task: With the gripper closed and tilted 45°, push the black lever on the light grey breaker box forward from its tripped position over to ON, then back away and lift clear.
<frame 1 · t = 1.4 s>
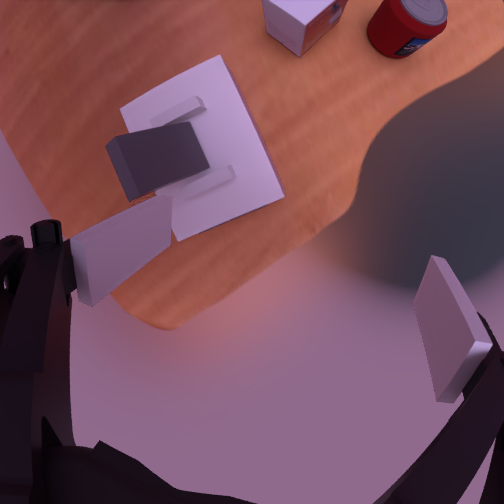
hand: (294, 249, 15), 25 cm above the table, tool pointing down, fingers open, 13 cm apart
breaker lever: (164, 155, 26), point 13 cm above the table, hinge at -25.0°
breaker box: (213, 148, 38), on the table
small box: (303, 26, 32), on the table
beverage can: (389, 37, 31), on the table
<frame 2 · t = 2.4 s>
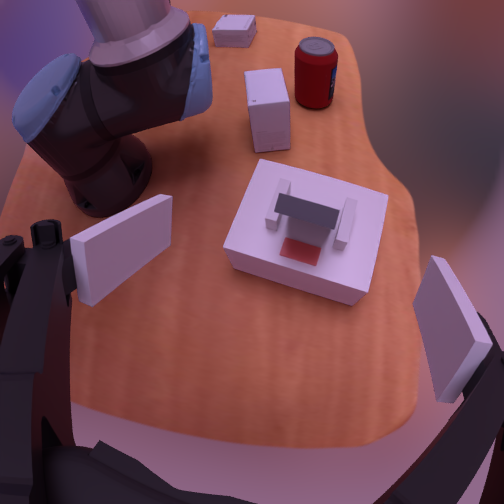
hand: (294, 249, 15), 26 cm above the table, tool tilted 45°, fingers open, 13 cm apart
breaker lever: (309, 213, 29), point 13 cm above the table, hinge at -25.0°
breaker box: (306, 245, 42), on the table
small box 2: (236, 39, 60), on the table
small box: (269, 133, 49), on the table
beverage can: (313, 99, 51), on the table
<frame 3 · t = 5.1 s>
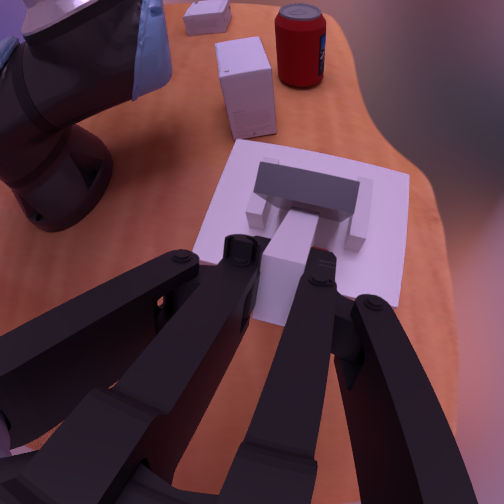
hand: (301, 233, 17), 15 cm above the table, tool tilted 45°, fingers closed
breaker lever: (309, 198, 20), point 13 cm above the table, hinge at -25.0°, touching gripper
breaker box: (305, 249, 32), on the table
small box 2: (210, 27, 52), on the table
small box: (250, 118, 40), on the table
beverage can: (300, 78, 42), on the table
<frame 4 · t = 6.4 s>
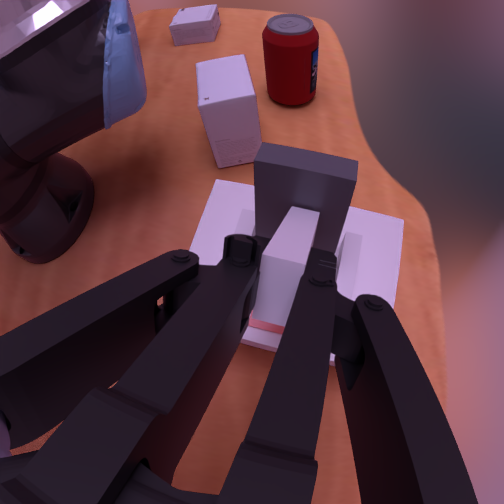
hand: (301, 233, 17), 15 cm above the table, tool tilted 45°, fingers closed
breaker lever: (299, 223, 19), point 13 cm above the table, hinge at 15.1°, touching gripper
breaker box: (290, 292, 31), on the table
small box 2: (198, 35, 50), on the table
small box: (237, 141, 38), on the table
beverage can: (291, 94, 41), on the table
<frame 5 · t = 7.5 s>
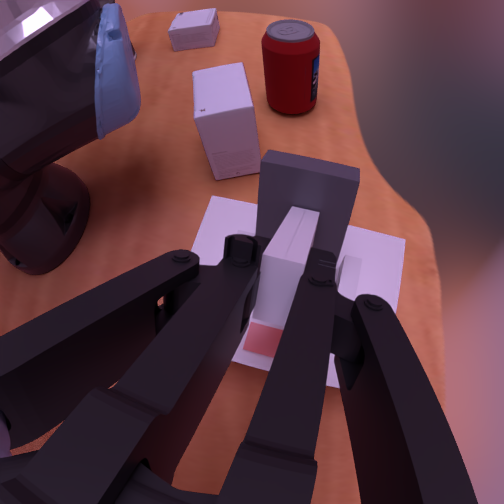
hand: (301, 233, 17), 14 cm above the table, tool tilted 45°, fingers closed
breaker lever: (299, 237, 19), point 13 cm above the table, hinge at 28.5°, touching gripper
breaker box: (288, 309, 30), on the table
small box 2: (198, 40, 49), on the table
small box: (235, 152, 38), on the table
beverage can: (291, 102, 40), on the table
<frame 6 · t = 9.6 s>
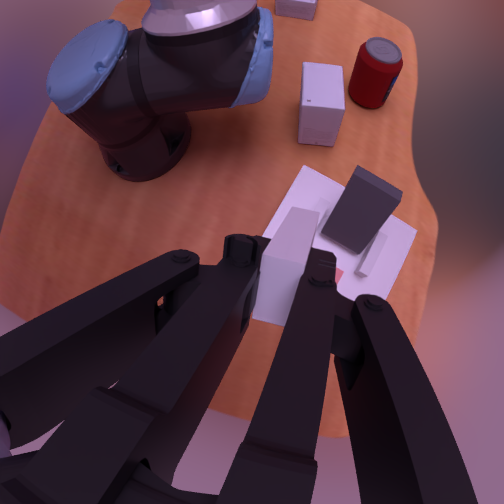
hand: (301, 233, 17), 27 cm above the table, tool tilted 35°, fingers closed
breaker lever: (357, 215, 31), point 13 cm above the table, hinge at 28.7°
breaker box: (329, 250, 43), on the table
small box 2: (297, 9, 51), on the table
small box: (315, 124, 46), on the table
beverage can: (366, 95, 47), on the table
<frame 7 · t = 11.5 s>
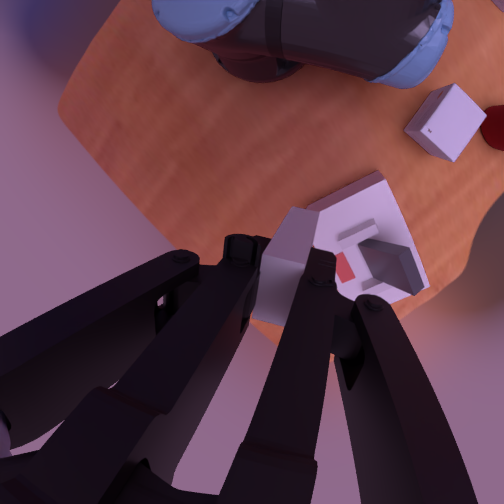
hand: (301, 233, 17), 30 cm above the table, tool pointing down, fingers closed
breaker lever: (387, 263, 34), point 13 cm above the table, hinge at 28.7°
breaker box: (366, 234, 46), on the table
small box: (431, 122, 37), on the table
beverage can: (495, 127, 34), on the table
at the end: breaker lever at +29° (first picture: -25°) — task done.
